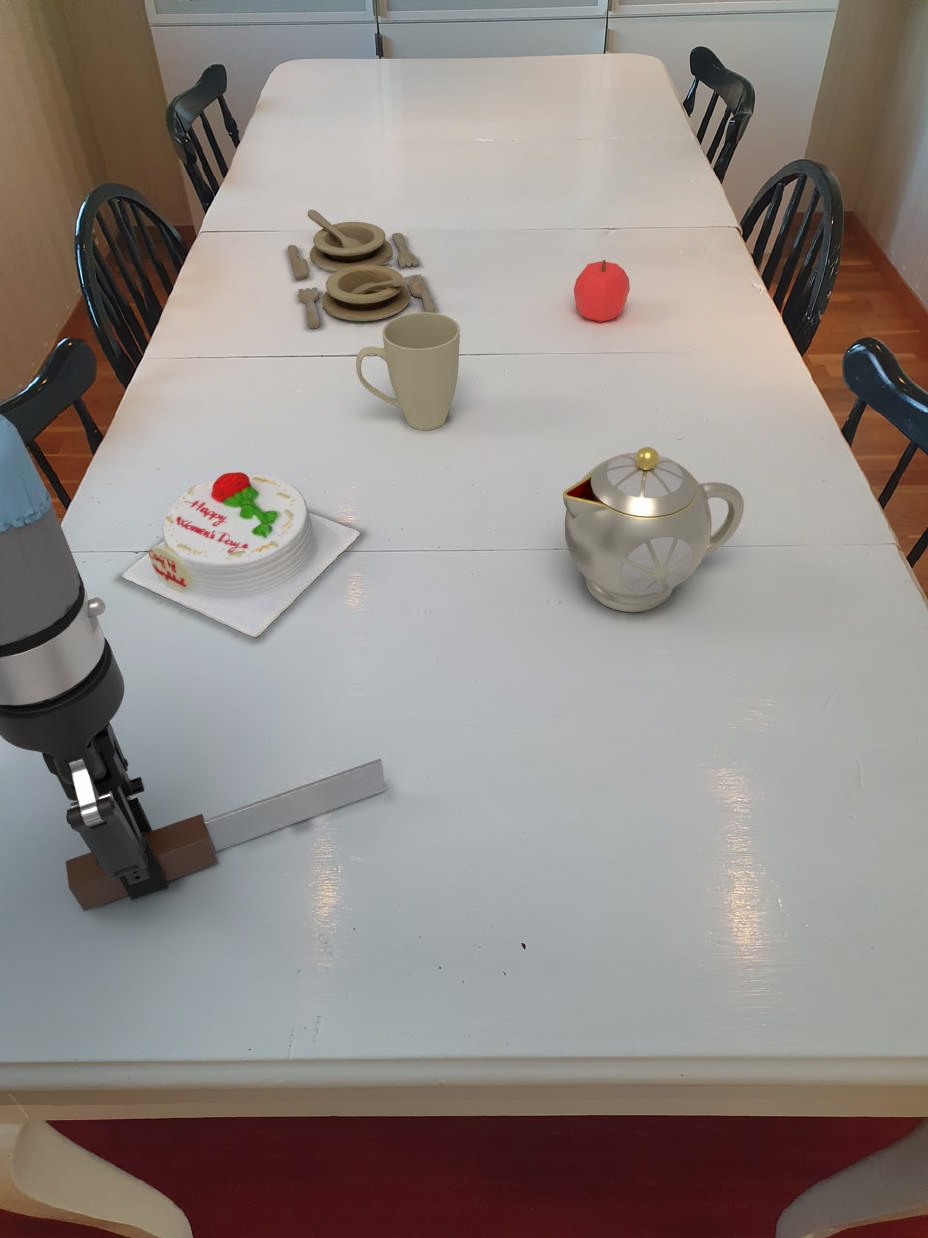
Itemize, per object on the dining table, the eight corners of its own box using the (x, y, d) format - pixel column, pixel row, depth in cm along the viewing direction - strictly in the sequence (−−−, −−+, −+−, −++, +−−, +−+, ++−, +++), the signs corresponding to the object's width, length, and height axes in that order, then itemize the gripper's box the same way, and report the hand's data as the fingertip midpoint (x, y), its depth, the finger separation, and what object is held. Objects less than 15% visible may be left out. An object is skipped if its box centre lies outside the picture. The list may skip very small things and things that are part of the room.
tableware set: (287, 248, 150) (281, 211, 146) (403, 234, 153) (401, 198, 149) (308, 332, 130) (301, 293, 125) (442, 314, 132) (440, 275, 128)
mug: (419, 389, 118) (413, 302, 110) (477, 416, 113) (475, 326, 105) (359, 426, 112) (348, 337, 104) (417, 455, 108) (411, 364, 99)
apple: (596, 296, 136) (601, 243, 130) (638, 314, 131) (645, 259, 126) (560, 314, 132) (563, 260, 126) (602, 333, 128) (607, 278, 122)
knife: (84, 912, 67) (66, 885, 64) (80, 884, 68) (62, 857, 65) (390, 800, 73) (386, 771, 70) (380, 777, 75) (376, 748, 72)
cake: (231, 489, 105) (219, 427, 99) (364, 537, 98) (358, 473, 93) (118, 579, 93) (95, 514, 87) (259, 640, 87) (245, 574, 81)
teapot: (573, 644, 86) (586, 506, 74) (539, 551, 95) (547, 416, 83) (754, 617, 88) (794, 480, 76) (703, 529, 97) (732, 395, 85)
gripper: (127, 739, 48) (216, 943, 64) (92, 562, 58) (176, 778, 75) (-24, 786, 46) (108, 984, 62) (-34, 595, 56) (82, 809, 73)
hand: (145, 871), depth 68 cm, fingers closed on knife, 2 cm apart
